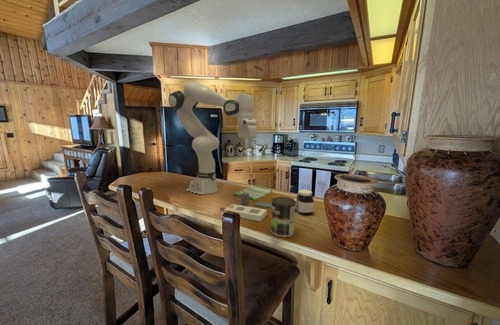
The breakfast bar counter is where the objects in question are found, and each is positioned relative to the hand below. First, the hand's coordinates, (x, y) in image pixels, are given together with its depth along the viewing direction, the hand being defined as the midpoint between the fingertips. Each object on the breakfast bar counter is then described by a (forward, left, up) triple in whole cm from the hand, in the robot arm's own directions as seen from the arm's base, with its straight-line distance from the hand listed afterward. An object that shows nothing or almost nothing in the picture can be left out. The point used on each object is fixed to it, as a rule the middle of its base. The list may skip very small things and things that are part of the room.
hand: (246, 146), depth 125 cm
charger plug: (+3, -8, -34) cm, 35 cm away
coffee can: (+30, -27, -34) cm, 53 cm away
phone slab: (+13, 0, -35) cm, 37 cm away
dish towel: (-2, +17, -35) cm, 39 cm away
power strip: (+6, -18, -34) cm, 39 cm away
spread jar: (+33, -1, -34) cm, 48 cm away
